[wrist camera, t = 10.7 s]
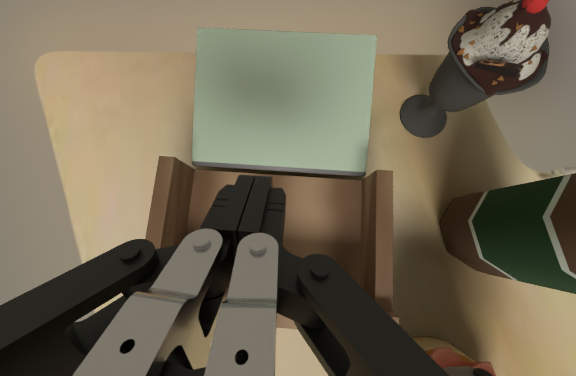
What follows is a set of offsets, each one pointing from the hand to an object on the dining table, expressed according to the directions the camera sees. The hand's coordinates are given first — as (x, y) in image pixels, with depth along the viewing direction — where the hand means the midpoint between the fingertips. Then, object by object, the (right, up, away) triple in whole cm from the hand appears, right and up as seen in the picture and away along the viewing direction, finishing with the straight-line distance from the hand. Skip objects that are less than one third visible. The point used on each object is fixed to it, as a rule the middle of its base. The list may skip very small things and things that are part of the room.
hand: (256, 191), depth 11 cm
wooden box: (0, -5, +13) cm, 14 cm away
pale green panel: (+1, +2, +11) cm, 12 cm away
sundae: (+16, +8, +15) cm, 24 cm away
